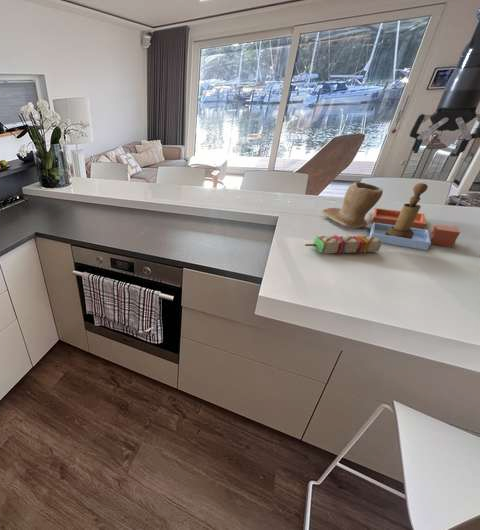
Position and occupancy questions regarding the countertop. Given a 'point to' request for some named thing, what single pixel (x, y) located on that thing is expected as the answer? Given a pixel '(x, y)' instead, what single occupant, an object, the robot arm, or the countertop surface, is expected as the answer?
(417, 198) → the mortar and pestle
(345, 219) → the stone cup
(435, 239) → the terracotta block
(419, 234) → the light blue tray
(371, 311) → the countertop surface
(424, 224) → the terracotta tray
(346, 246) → the skewer
